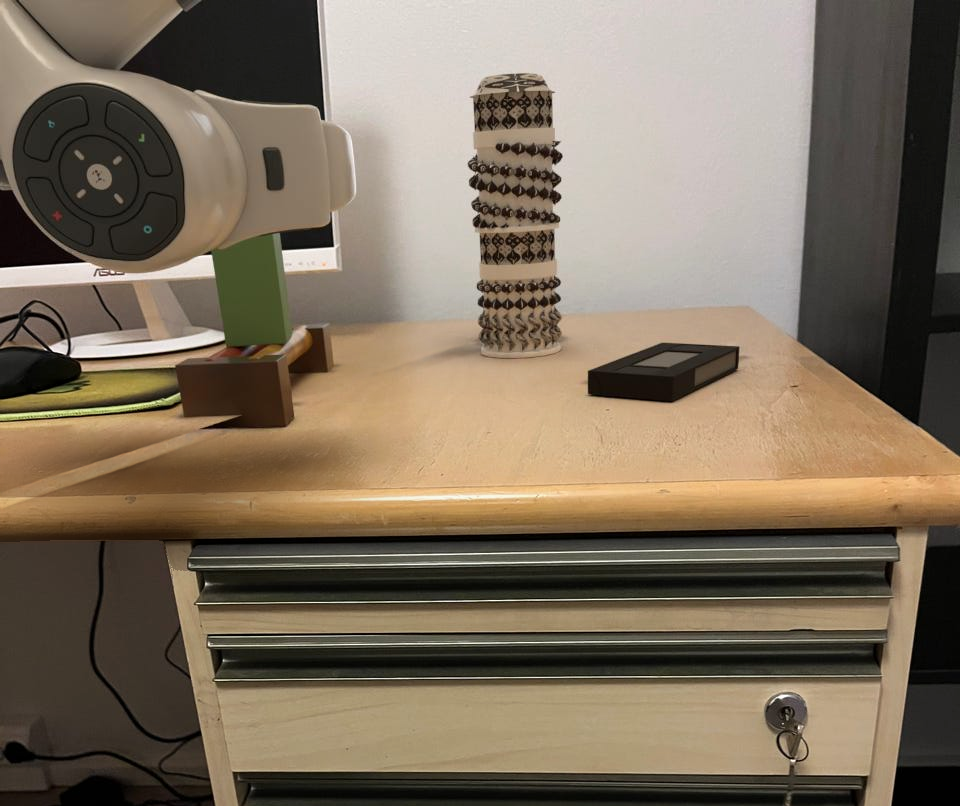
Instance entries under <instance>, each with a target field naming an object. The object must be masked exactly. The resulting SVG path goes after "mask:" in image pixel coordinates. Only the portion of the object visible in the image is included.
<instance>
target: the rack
mask: <svg viewBox="0 0 960 806" xmlns="http://www.w3.org/2000/svg"><path fill="white" fill-rule="evenodd" d="M291 326H292V336H291V337H290V339H289V340H288V342H287V343H283V344H268V345H252V346H236V347H226V346H225V347H224V348H223V349H221V350H219V351H217V352H215V353H213V354H212V355H210V356H209V357H189V358H186V359H184V360H182V361H180V362H179V363H177V364H175V365H174V368H175V374H176V379H177V386H178V391H179V396H180V402H181V407H182V413H183V418H203V417H228V416H230V417H231V416H232V418H228V419H225V420H222V421H219V422H216V423H213V424H210V425H206V426H203V427H201V428H199V430H221V429H223V430H224V429H248V428H252V429H253V428H276V427H278V428H279V427H287V426H288V425H289V424H290V423H291V421H293V420H294V419H295V411H294V403H293V394H292V388H291V387H292V386H291V380H290V375H291V374H292V375H293V374H312V373H313V374H314V373H315V374H316V373H329V372H330V371H331V370H332V369H333V368H334V367H335V363H334V354H333V345H332V337H331V326H330V323H329V322H323V323H322V322H321V323H297V324H291ZM233 416H235V417H233Z"/></svg>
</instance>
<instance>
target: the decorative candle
mask: <svg viewBox="0 0 960 806" xmlns="http://www.w3.org/2000/svg"><path fill="white" fill-rule="evenodd" d="M555 93H556V91H553V90H552V89H550V88H549V86H548V84H547V82H546V80H545V79H544V78H543V76H542V75H541V74H539V73H531V72H530V73H529V72H527V73H526V72H524V73H523V72H521V73H519V72H518V73H505V74H504V73H503V74H495V75H489V76H485V77H483V78H482V79H481V80H480V82H479V84H478V87H477V89H476V91H475V93H474V94H472V95H471V96H469V99H472V103H473V121H474V123H473V124H474V132H472V138H473V139H472V140H473V149H474V150H476V153H475V155H473V156H472V158H470V159H469V160H468V161H467V167H468V169H469V170H470V171H471V172H473V173H474V174H473V176H471V177H470V178H469V179H468V186H469V187H470V188H472V189H474V191H475V192H476V191H478V195H477V196H476V197H475V199H473V200H472V201H471V203H470V206H471V208H472V210H473V211H475V212H476V213H477V215H475V216H474V217H473V218H472V226H473V227H474V233H477V234H479V251H480V262H479V264H478V266H479V267H478V268H479V279H480V280H479V281H478V282H476V290H478V291H479V292H481V293H482V295H481V296H480V297H479V298H478V299H477V306H478V307H481V308H482V309H483V310H482V313H481V314H480V315H479V316H478V317H477V324H478V326H479V327H480V328H482V329H481V330H480V331H479V333H478V340H479V342H481V343H482V344H483V346H481V347H480V355H482V356H484V357H490V358H495V359H496V358H498V359H523V358H525V359H526V358H535V357H543V356H548V355H553V354H556V353H558V352H560V351H561V349H562V347H561V344H560V343H559V342H557V341H558V339H559V338H560V337H562V334H563V333H562V330H561V327H559V325H558V324H559V323H560V322H561V321H562V319H563V316H562V314H561V312H560V311H559V310H558V309H557V308H556V305H557V304H558V303H559V302H561V301H562V297H561V296H560V294H559V293H557V291H555V290H556V289H557V288H559V287H560V286H561V284H562V281H561V279H560V278H559V277H558V276H557V275H558V260H557V258H556V245H555V244H556V243H555V241H556V239H555V232H556V231H555V229H559V228H560V222H561V216H560V215H558V214H556V213H555V212H554V207H555V206H556V205H557V204H558V203H559V202H560V201H561V200H562V197H563V196H562V194H561V193H559V192H558V191H557V190H556V189H555V188H556V187H558V185H560V184H561V182H562V177H561V175H559V174H558V173H556V171H555V170H553V165H554V166H557V164H559V163H560V162H561V161H562V159H563V157H564V155H563V153H562V152H561V151H559V150H558V149H557V148H556V147H557V146H559V145H560V144H561V143H562V140H556V128H555V127H554V122H553V121H554V120H553V119H554V118H553V115H554V114H553V112H554V111H553V110H554V109H553V94H555Z"/></svg>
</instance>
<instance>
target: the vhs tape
mask: <svg viewBox="0 0 960 806" xmlns="http://www.w3.org/2000/svg"><path fill="white" fill-rule="evenodd" d="M740 347H741V346H737V345H720V344H719V345H718V344H702V343H701V344H699V343H681V342H680V343H677V342H660V343H657V344H654V345H652V346H650V347H649V346H648V347H647V348H643V349H641V350H638V351H636V352H633V353H631V354H629V355H626V356H622V357H620V358H617V359H615V360H612V361H610V362H607V363H604V364H602V365H598V366H597V367H594V368H591V369H588V370H587V394H588V395H593V396H605V397H617V398H618V397H619V398H627V399H628V398H629V399H640V400H652V401H663V402H664V401H665V402H673V401H676V400H677V399H679V398H682V397H683V396H685V395H687V394H690V393H692V392H694V391H696V390H698V389H700V388H702V387H704V386H706V385H708V384H710V383H712V382H714V381H716V380H719V379H720V378H722V377H724V376H726V375H728V374H730V373H733V372H735V371H736V370H738V369H739V363H740V362H739V361H740V349H741V348H740Z"/></svg>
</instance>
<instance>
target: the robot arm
mask: <svg viewBox="0 0 960 806" xmlns="http://www.w3.org/2000/svg"><path fill="white" fill-rule="evenodd" d="M201 1H202V0H0V190H1V191H12V192H13V194H14V196H15V198H16V200H17V202H18V203H19V205H20V206H21V208H22V209H23V211H24V212H25V213H26V215H27V216H28V217H29V219H31V221H32V222H33V223H34V224H35V226H36V227H38V229H39V230H40V231H41V232H42V233H43V234H44V235H45V236H46V237H48V238H49V239H50V240H51V241H52V242H54V243H55V244H56V245H57V246H58V247H60V248H61V249H63V250H64V251H66V252H67V253H69V254H71V255H73V256H74V257H76V258H78V259H79V260H82V261H84V262H86V263H88V264H91V265H93V266H96V267H99V268H102V269H105V270H108V271H112V272H116V273H122V274H147V273H155V272H161V271H163V270H167V269H171V268H174V267H177V266H180V265H183V264H185V263H187V262H189V261H191V260H193V259H195V258H198V257H200V256H203V255H204V254H206V253H209V252H211V250H213V249H216V248H218V249H225V248H227V247H229V246H231V245H234V244H236V243H238V242H240V241H243V240H246V239H248V238H252V237H255V236H260V237H262V236H266V235H271V234H276V233H280V234H283V233H289V232H297V231H307V230H310V229H312V228H322V227H323V228H324V227H325V226H327V225H329V224H330V222H331V213H333V212H336V211H339V210H342V209H344V208H345V207H346V206H348V205H349V204H350V203H351V202H352V201H353V200H354V199H355V197H356V195H357V179H356V177H357V176H356V165H355V164H356V163H355V156H354V155H355V154H354V148H353V140H352V137H351V134H350V133H349V132H348V131H347V129H345V128H343V127H342V126H340V125H338V124H337V123H335V122H332V121H328V120H324V119H321V114H320V110H319V109H318V107H317V106H314V105H312V104H297V103H295V102H267V101H266V102H265V101H264V102H263V101H254V100H245V99H242V100H241V101H240V100H234V99H230V98H227V97H223V96H218V95H216V94H213V93H211V92H210V93H209V92H207V91H204V90H202V89H201V90H200V89H196V90H194V91H191V90H188V89H185V88H182V87H180V86H177V85H174V84H171V83H169V82H166V81H164V80H162V79H159V78H156V77H153V76H150V75H145V74H141V73H137V72H133V71H127V70H121V69H122V68H123V67H124V66H125V65H126V64H127V63H128V62H129V61H131V60H132V58H134V57H135V56H136V55H137V54H138V53H139V52H140V51H141V50H142V49H143V48H144V47H145V46H146V45H147V44H149V42H151V41H152V40H153V39H154V38H155V37H156V36H157V35H158V34H159V33H160V32H161V31H162V30H163V29H164V28H165V27H166V26H168V25H169V24H170V23H171V22H172V21H173V20H174V19H175V18H176V17H177V16H178V15H179V14H180V13H181V12H183V11H184V12H188V11H189V10H191V9H192V8H193V7H194V6H196V5H197V4H199V3H200V2H201Z"/></svg>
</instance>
